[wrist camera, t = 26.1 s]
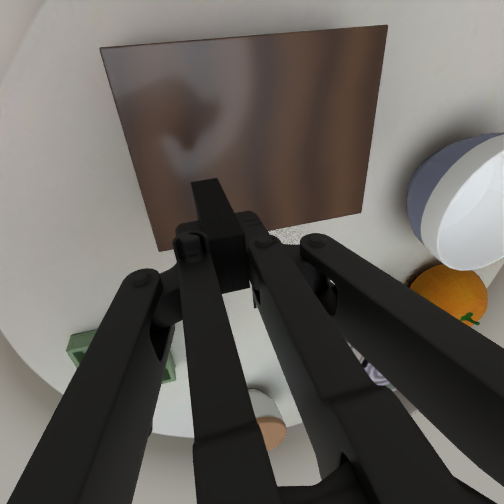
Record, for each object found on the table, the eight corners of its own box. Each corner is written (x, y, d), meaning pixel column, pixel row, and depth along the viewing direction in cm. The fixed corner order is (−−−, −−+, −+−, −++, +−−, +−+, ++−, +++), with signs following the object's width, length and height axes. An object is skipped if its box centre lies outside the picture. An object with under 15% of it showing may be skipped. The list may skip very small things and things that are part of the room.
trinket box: (247, 420, 62) (259, 471, 54) (206, 408, 56) (214, 464, 49) (284, 389, 59) (303, 439, 52) (245, 374, 54) (260, 427, 46)
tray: (100, 385, 46) (97, 401, 44) (70, 335, 40) (65, 351, 38) (175, 366, 48) (175, 380, 46) (157, 315, 42) (157, 329, 40)
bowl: (408, 117, 35) (478, 135, 28) (511, 122, 39) (598, 139, 32) (370, 237, 44) (415, 276, 36) (458, 231, 48) (517, 265, 40)
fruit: (436, 244, 48) (493, 283, 40) (469, 270, 54) (524, 309, 46) (384, 297, 52) (426, 342, 44) (420, 316, 58) (463, 359, 49)
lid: (381, 25, 23) (388, 24, 23) (356, 209, 32) (361, 213, 31) (100, 48, 20) (98, 47, 19) (158, 247, 29) (158, 252, 28)
